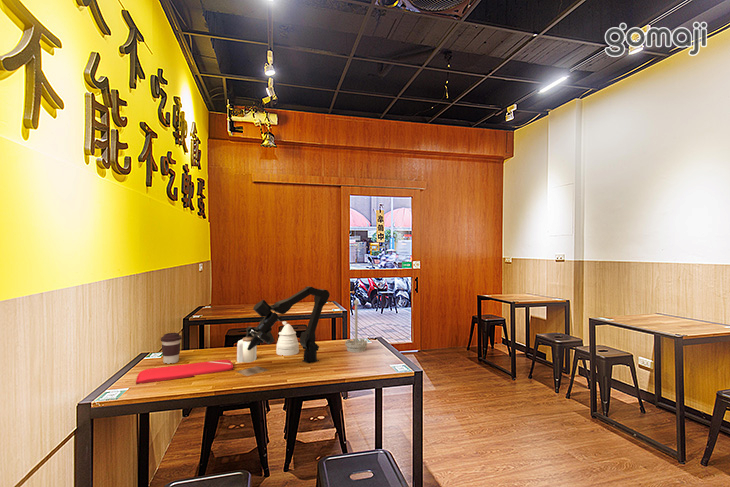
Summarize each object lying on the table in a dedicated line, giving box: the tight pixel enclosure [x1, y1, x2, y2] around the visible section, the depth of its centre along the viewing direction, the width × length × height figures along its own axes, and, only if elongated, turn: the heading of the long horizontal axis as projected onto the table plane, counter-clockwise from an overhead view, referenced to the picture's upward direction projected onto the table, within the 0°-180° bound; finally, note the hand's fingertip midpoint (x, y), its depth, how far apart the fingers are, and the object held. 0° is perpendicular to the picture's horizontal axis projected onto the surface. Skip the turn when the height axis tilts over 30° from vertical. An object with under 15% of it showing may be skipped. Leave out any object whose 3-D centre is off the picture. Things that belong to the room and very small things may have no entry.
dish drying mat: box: [135, 359, 234, 385], centre depth 181 cm, size 16×41×4 cm, turn 115°
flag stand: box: [344, 299, 368, 353], centre depth 225 cm, size 13×13×30 cm
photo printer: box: [236, 338, 258, 363], centre depth 200 cm, size 10×4×12 cm, turn 123°
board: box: [235, 365, 269, 377], centre depth 182 cm, size 12×10×1 cm
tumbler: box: [242, 336, 255, 363], centre depth 181 cm, size 6×6×11 cm
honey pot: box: [275, 320, 300, 357], centre depth 219 cm, size 13×13×18 cm
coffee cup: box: [160, 332, 183, 365], centre depth 200 cm, size 10×10×15 cm
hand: (245, 348), depth 180 cm, fingers closed on tumbler, 5 cm apart
